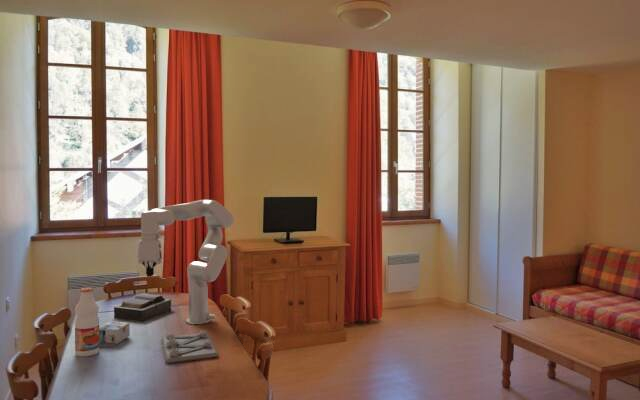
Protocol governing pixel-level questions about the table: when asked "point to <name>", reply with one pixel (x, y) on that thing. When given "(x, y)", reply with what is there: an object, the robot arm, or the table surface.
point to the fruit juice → (86, 324)
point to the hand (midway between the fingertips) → (149, 275)
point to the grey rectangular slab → (188, 347)
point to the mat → (107, 344)
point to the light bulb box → (113, 332)
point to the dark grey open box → (142, 307)
